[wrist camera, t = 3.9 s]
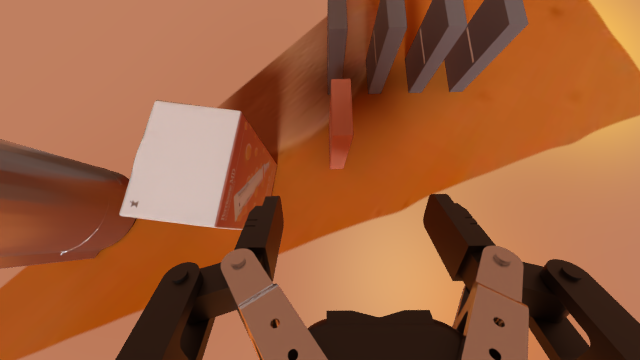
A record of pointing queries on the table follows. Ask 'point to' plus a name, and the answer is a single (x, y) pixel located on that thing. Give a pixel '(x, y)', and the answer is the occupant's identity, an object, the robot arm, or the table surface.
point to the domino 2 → (340, 122)
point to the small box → (198, 168)
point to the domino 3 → (385, 42)
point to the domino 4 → (434, 41)
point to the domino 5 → (483, 40)
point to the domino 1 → (336, 39)
